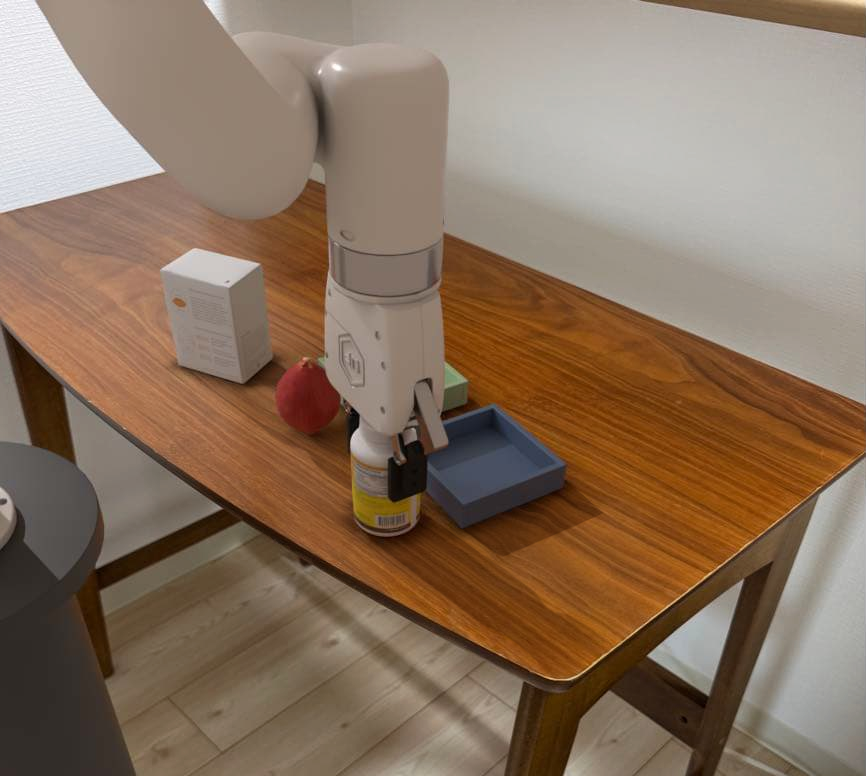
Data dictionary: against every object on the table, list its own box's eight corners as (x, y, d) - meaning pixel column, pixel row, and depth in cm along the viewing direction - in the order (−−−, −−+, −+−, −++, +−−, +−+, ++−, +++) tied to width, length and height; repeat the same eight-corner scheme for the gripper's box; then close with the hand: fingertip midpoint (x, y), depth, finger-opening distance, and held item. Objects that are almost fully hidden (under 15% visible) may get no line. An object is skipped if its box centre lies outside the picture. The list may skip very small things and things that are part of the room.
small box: (274, 360, 93) (264, 263, 86) (243, 386, 89) (230, 287, 82) (209, 341, 95) (194, 245, 88) (176, 366, 91) (158, 268, 84)
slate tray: (461, 529, 74) (463, 504, 73) (395, 460, 81) (395, 437, 79) (563, 487, 79) (567, 464, 77) (492, 426, 85) (494, 402, 84)
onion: (266, 428, 84) (258, 353, 78) (318, 407, 87) (313, 333, 81) (301, 458, 81) (295, 382, 75) (353, 435, 83) (351, 360, 78)
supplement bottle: (384, 487, 78) (384, 387, 71) (433, 516, 75) (437, 415, 68) (338, 519, 75) (333, 416, 68) (387, 550, 72) (387, 447, 65)
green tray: (371, 436, 83) (371, 412, 82) (318, 381, 90) (317, 358, 88) (467, 403, 88) (468, 381, 86) (410, 353, 94) (410, 331, 93)
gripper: (277, 221, 63) (295, 432, 76) (404, 328, 53) (401, 553, 65) (371, 201, 66) (373, 407, 79) (507, 299, 56) (486, 518, 68)
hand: (386, 471), depth 72 cm, fingers closed on supplement bottle, 5 cm apart
